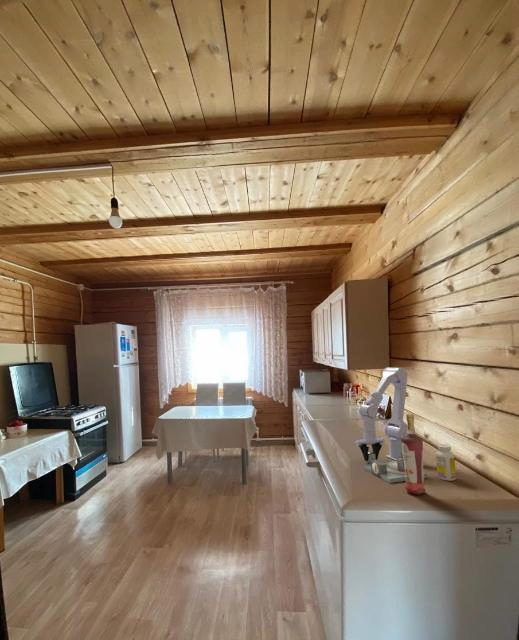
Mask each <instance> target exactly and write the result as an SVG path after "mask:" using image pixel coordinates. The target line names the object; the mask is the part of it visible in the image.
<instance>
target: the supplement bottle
mask: <svg viewBox="0 0 519 640" xmlns="http://www.w3.org/2000/svg"><path fill="white" fill-rule="evenodd" d="M451 447H452V446H450V445H449V444H445V443H444V444H441V443H440V444H438V445H437V449H438V450H437V451H436V452H435V459H436V471H437V477H438V478H439V479H440V480H443V481H448V482H450V481H456V480H457V472H456V471H457V470H456V461H455V455H454V453H453V452H452V451H451V450H452V448H451Z"/></svg>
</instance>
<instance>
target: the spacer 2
mask: <svg viewBox="0 0 519 640" xmlns="http://www.w3.org/2000/svg"><path fill="white" fill-rule="evenodd" d="M397 470H398V471H400V472H405V467H404V459H403V457H402V456H399V457H397Z"/></svg>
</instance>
